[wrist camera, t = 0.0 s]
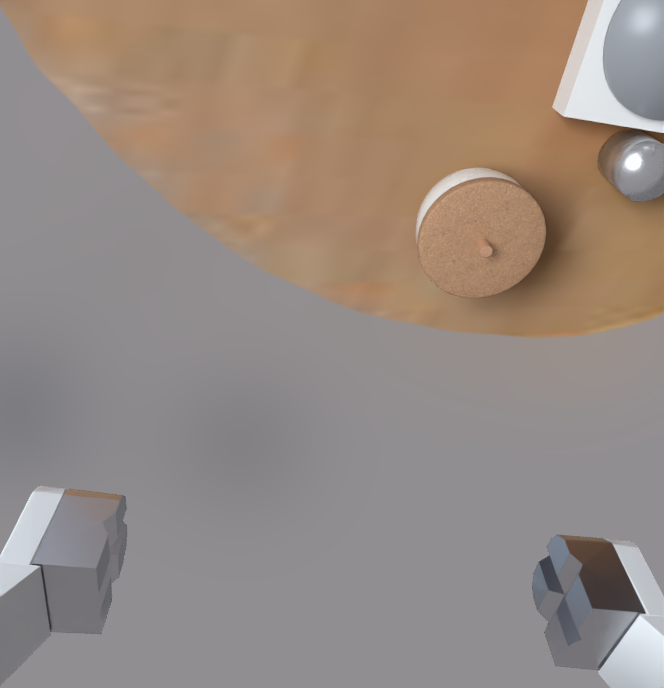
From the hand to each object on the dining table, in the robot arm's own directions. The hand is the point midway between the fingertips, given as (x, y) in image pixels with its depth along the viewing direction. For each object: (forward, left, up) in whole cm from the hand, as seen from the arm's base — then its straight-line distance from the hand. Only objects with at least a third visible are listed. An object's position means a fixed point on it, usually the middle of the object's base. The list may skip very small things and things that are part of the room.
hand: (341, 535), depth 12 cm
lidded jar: (+10, +15, -48) cm, 52 cm away
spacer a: (+3, +28, -48) cm, 56 cm away
